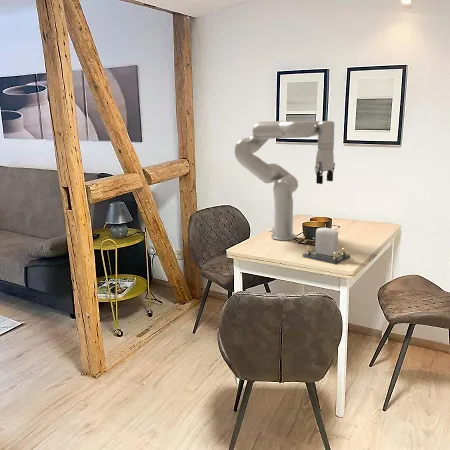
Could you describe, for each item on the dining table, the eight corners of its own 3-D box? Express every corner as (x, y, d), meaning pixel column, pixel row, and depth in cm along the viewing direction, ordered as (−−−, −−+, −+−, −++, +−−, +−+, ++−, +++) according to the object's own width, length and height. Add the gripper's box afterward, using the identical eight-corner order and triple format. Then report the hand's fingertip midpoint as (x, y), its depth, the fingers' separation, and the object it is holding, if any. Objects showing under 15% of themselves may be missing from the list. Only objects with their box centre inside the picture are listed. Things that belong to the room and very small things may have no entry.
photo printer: (338, 254, 213) (339, 228, 210) (334, 257, 210) (335, 230, 207) (317, 251, 219) (318, 225, 216) (313, 253, 216) (314, 227, 213)
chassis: (302, 256, 216) (302, 247, 214) (317, 250, 225) (317, 241, 224) (335, 264, 205) (336, 254, 203) (349, 256, 214) (350, 247, 213)
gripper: (327, 145, 236) (326, 179, 240) (309, 148, 224) (308, 183, 228) (341, 146, 231) (340, 180, 235) (323, 148, 219) (322, 185, 223)
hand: (324, 182), depth 232 cm, fingers open, 9 cm apart
